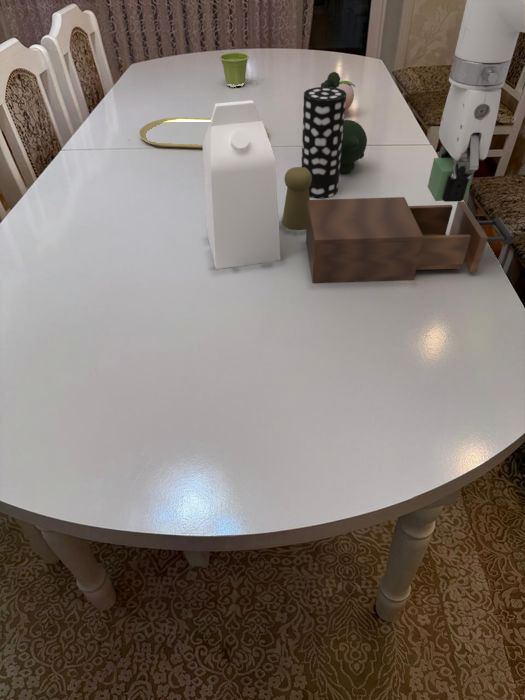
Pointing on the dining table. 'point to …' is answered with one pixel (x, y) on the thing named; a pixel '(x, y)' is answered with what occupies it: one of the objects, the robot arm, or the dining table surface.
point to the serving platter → (170, 120)
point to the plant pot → (234, 67)
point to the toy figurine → (348, 134)
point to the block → (443, 177)
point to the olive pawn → (296, 198)
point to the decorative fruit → (347, 92)
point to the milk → (240, 187)
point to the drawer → (454, 237)
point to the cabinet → (362, 240)
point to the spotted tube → (323, 138)
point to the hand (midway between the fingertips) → (447, 191)
